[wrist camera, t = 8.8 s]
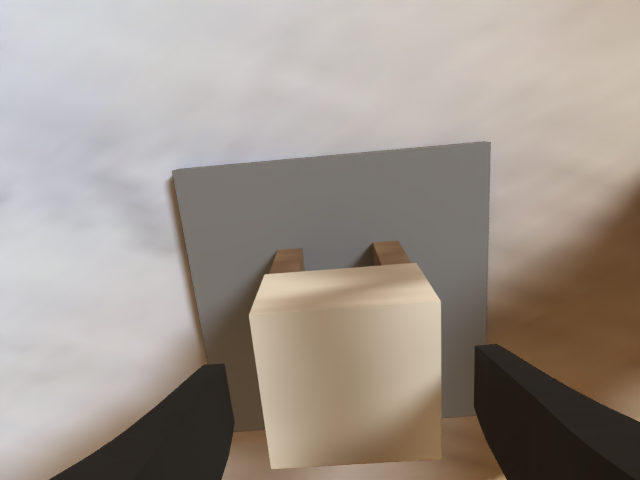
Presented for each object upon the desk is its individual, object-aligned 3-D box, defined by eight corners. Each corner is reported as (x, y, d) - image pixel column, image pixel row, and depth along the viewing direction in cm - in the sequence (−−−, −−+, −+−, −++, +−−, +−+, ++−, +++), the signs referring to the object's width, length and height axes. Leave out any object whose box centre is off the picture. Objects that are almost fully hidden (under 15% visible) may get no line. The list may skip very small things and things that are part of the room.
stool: (400, 237, 17) (440, 301, 11) (404, 349, 18) (441, 458, 12) (274, 247, 17) (248, 315, 11) (288, 357, 18) (271, 469, 12)
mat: (484, 141, 16) (490, 142, 16) (479, 406, 19) (484, 415, 19) (177, 168, 16) (171, 170, 16) (223, 423, 20) (220, 432, 19)
